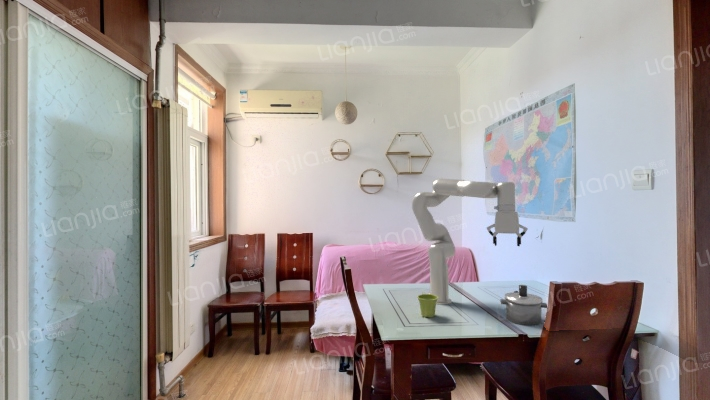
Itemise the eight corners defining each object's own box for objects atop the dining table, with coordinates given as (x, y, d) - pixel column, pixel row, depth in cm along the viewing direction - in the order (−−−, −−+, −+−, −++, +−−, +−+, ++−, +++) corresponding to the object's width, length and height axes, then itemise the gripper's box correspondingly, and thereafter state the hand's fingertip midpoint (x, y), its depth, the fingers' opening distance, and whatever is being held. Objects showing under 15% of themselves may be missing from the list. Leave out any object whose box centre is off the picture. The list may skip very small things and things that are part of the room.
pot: (502, 323, 143) (502, 302, 143) (499, 312, 156) (499, 293, 156) (550, 328, 137) (550, 306, 137) (543, 317, 150) (543, 297, 150)
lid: (506, 302, 142) (505, 288, 142) (503, 293, 156) (503, 280, 156) (545, 306, 137) (545, 291, 137) (539, 296, 151) (538, 283, 151)
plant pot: (426, 320, 147) (426, 300, 147) (413, 314, 156) (413, 295, 156) (442, 316, 151) (442, 297, 152) (429, 311, 160) (428, 293, 160)
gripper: (486, 208, 152) (487, 246, 152) (528, 208, 146) (529, 247, 146) (485, 208, 159) (486, 244, 159) (525, 208, 153) (526, 245, 153)
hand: (506, 245), depth 153 cm, fingers open, 9 cm apart
